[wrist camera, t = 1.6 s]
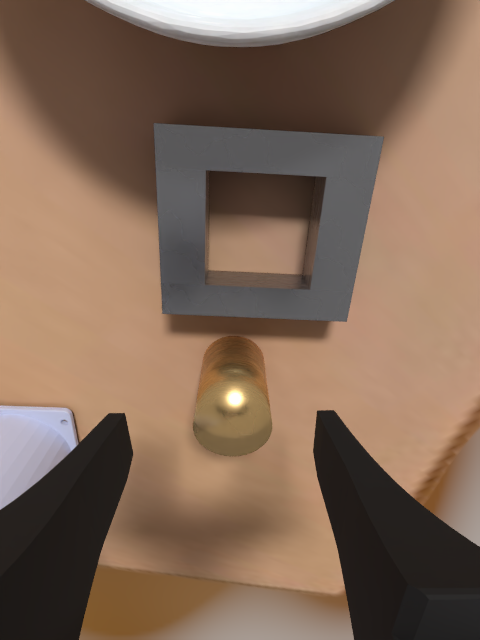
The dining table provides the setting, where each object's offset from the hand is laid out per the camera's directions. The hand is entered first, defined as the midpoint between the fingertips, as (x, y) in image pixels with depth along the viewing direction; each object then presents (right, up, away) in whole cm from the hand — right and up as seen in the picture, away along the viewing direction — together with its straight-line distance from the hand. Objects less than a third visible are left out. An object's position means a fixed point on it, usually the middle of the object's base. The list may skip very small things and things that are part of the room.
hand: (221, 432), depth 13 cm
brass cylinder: (0, +1, +10) cm, 10 cm away
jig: (+2, +9, +6) cm, 11 cm away
